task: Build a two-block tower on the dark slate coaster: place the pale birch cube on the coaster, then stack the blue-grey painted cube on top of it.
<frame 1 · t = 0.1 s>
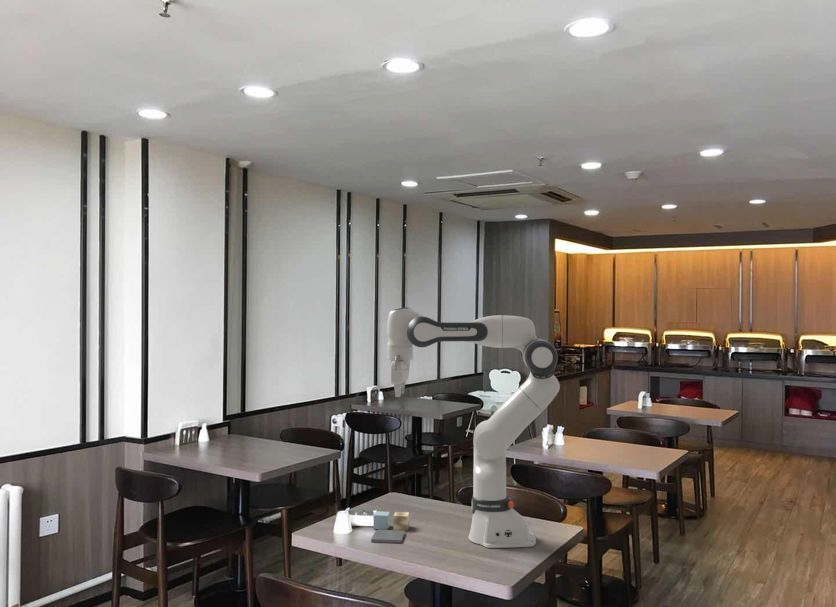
hand: (399, 395, 231), 48 cm above the table, tool pointing down, fingers open, 8 cm apart
slate coaster: (388, 537, 228), on the table
bluegrey cube: (381, 527, 239), on the table
birch cube: (401, 528, 238), on the table
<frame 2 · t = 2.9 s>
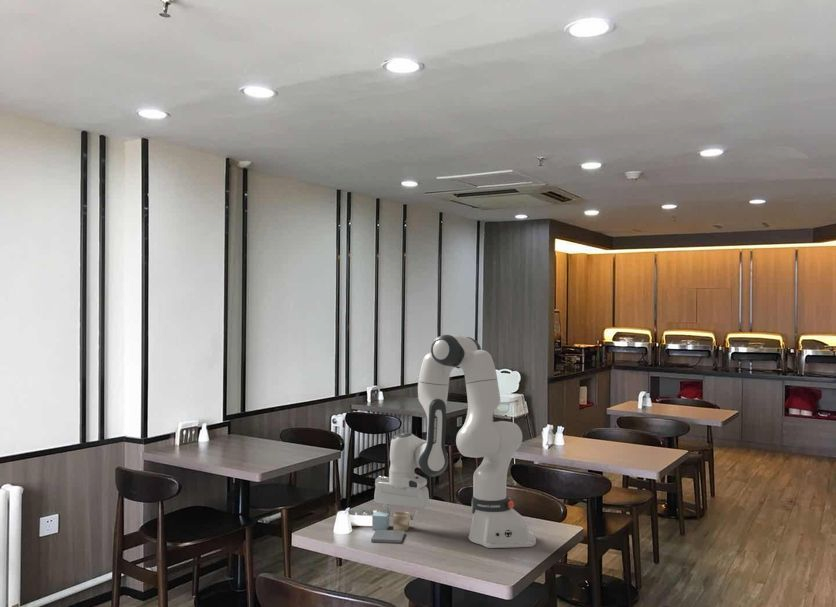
hand: (400, 517, 240), 3 cm above the table, tool pointing down, fingers open, 8 cm apart
nothing on the table moved.
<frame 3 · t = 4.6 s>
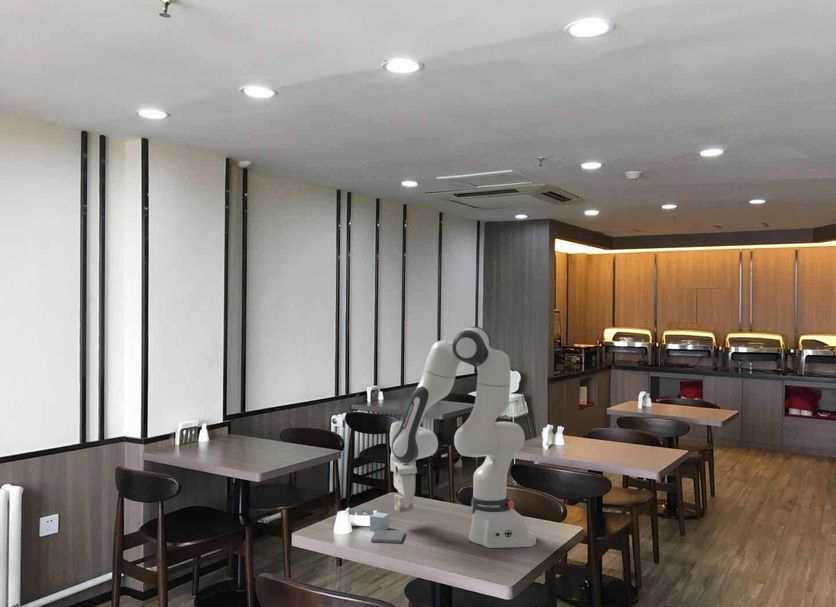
hand: (404, 505, 238), 8 cm above the table, tool pointing down, fingers closed on birch cube, 5 cm apart
bluegrey cube: (379, 529, 237), on the table
birch cube: (404, 510, 238), point 6 cm above the table, touching gripper
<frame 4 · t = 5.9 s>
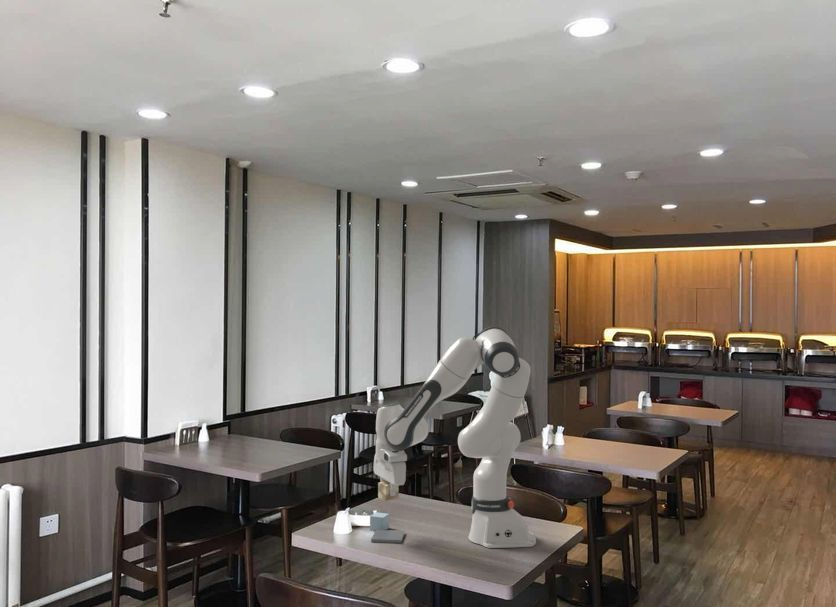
hand: (388, 493, 228), 15 cm above the table, tool pointing down, fingers closed on birch cube, 5 cm apart
birch cube: (388, 498, 228), point 13 cm above the table, touching gripper
everything else where it was.
when the fingers open (3 cm above the table, at t = 8.5 s): birch cube stays where it is, resting on slate coaster.
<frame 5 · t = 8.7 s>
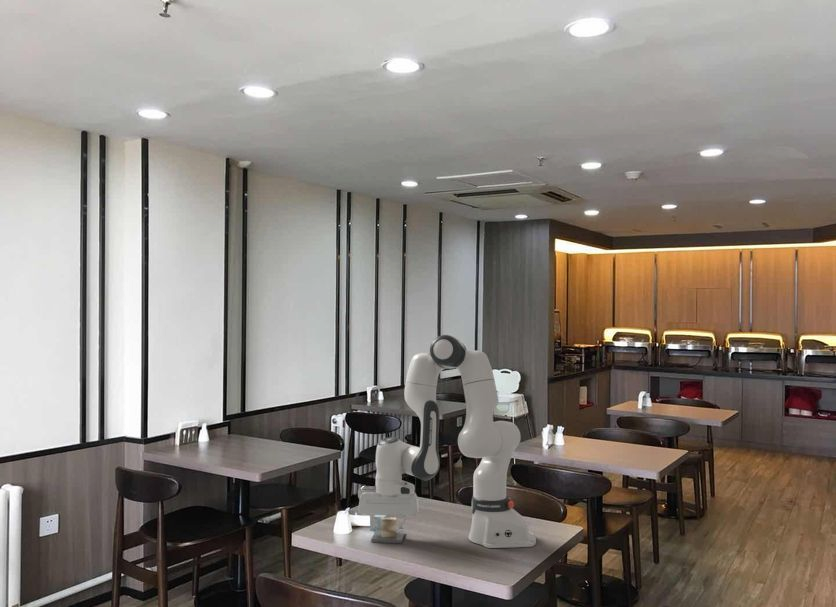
hand: (388, 527, 228), 3 cm above the table, tool pointing down, fingers open, 7 cm apart
birch cube: (388, 534, 228), point 1 cm above the table, touching slate coaster
everything else where it was.
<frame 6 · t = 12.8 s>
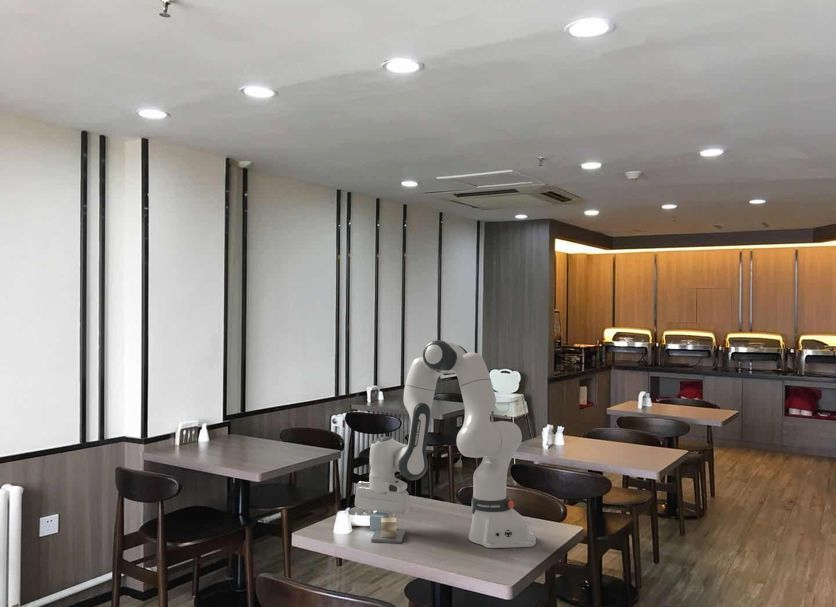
hand: (381, 522, 239), 2 cm above the table, tool pointing down, fingers closed on bluegrey cube, 5 cm apart
bluegrey cube: (379, 528, 237), on the table, touching gripper
everything else where it was.
when the fingers open (8 cm above the table, at t = 17.5 s): bluegrey cube stays where it is, resting on birch cube.
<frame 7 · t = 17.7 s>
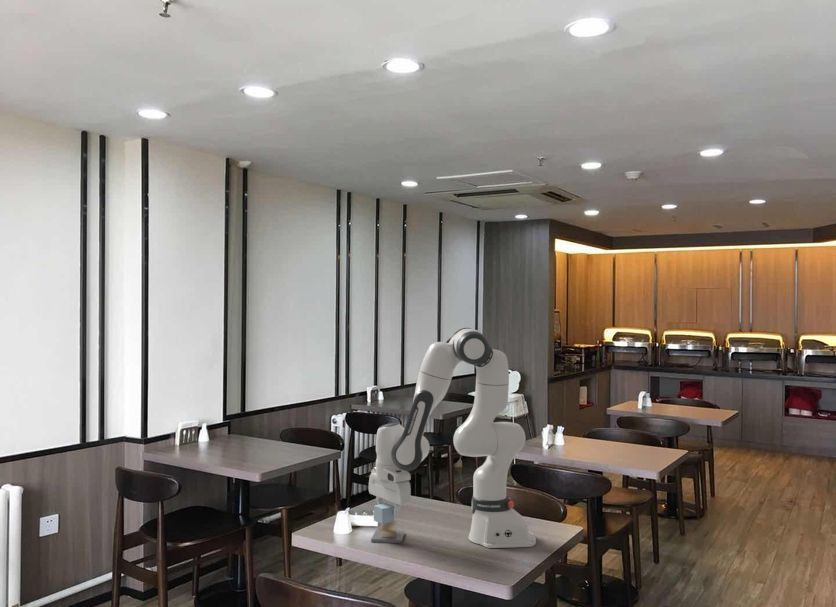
hand: (388, 512, 228), 8 cm above the table, tool pointing down, fingers open, 7 cm apart
bluegrey cube: (384, 520, 227), point 6 cm above the table, touching birch cube
birch cube: (388, 534, 228), point 1 cm above the table, touching bluegrey cube, slate coaster
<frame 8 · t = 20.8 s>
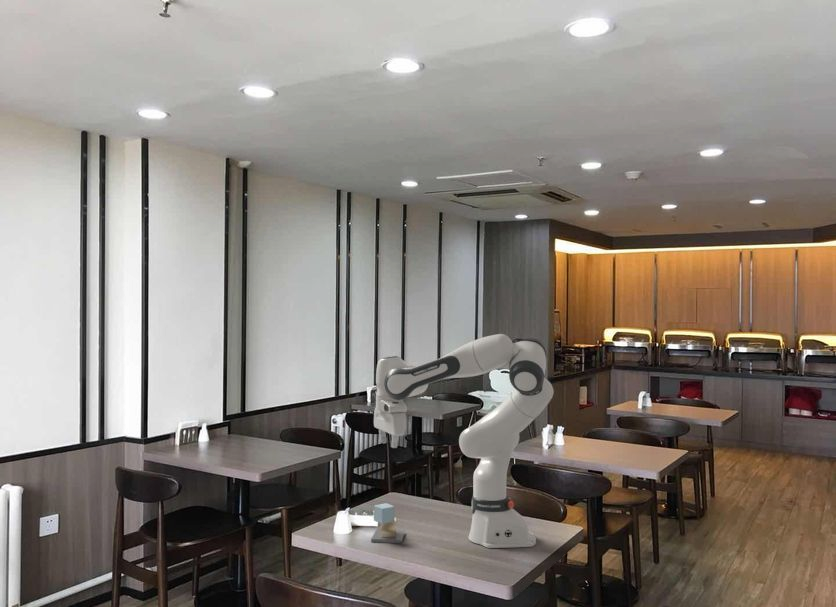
hand: (388, 445, 228), 31 cm above the table, tool pointing down, fingers open, 8 cm apart
nothing on the table moved.
at the end: birch cube inside the target area on the slate coaster (0.1 cm from its centre), point 1.0 cm above the slate coaster's base; bluegrey cube 1.9 cm off-centre on the birch cube, point 5.0 cm above the birch cube's base; the gripper is holding nothing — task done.
